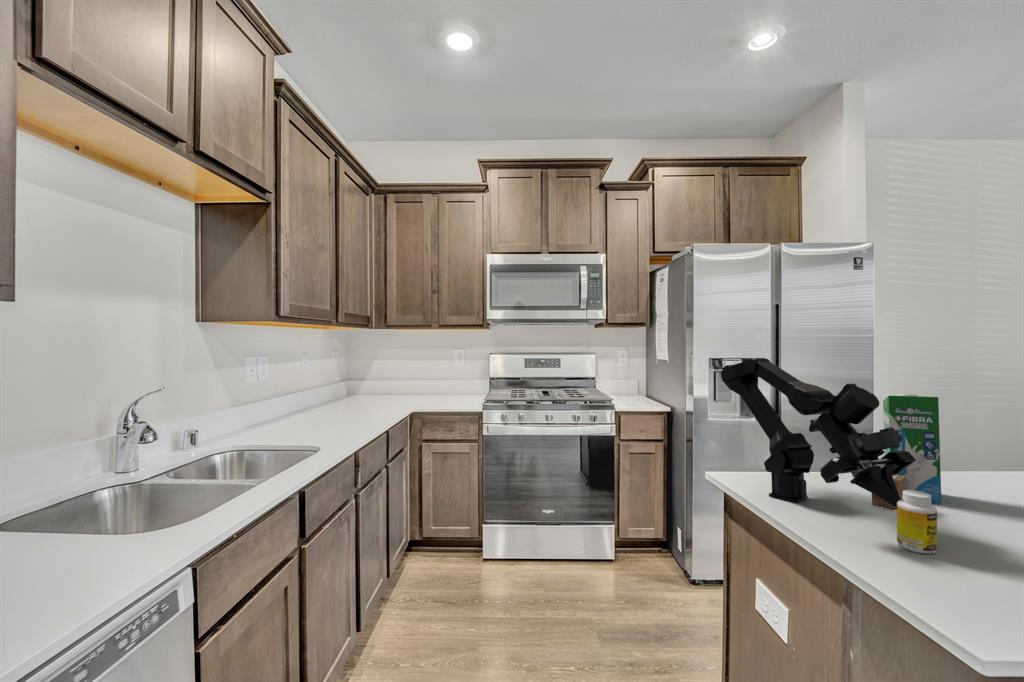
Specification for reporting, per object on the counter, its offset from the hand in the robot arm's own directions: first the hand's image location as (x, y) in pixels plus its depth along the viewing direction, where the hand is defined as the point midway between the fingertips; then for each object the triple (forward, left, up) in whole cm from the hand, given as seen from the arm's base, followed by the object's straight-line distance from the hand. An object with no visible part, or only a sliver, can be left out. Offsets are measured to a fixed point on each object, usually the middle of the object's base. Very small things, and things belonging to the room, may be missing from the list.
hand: (899, 505), depth 87 cm
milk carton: (-6, +34, -7) cm, 35 cm away
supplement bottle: (+3, -1, -7) cm, 8 cm away
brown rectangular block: (-7, +21, -7) cm, 23 cm away
